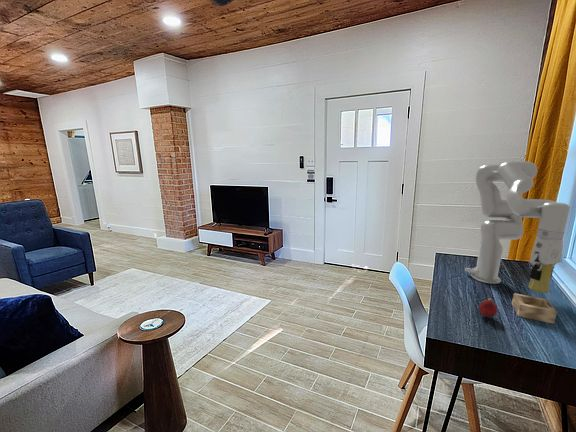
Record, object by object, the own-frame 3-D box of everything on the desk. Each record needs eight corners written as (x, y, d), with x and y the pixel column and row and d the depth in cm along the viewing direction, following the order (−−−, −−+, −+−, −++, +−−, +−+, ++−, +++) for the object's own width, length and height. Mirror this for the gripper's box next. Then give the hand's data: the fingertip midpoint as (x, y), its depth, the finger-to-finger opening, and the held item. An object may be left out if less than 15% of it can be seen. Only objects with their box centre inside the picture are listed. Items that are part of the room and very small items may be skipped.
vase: (534, 285, 114) (541, 252, 111) (552, 291, 109) (560, 257, 106) (524, 287, 112) (531, 254, 109) (542, 294, 107) (550, 259, 104)
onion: (496, 323, 106) (499, 304, 104) (478, 318, 109) (481, 299, 107) (494, 315, 111) (498, 297, 109) (477, 311, 114) (480, 293, 112)
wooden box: (518, 315, 111) (520, 303, 110) (511, 303, 121) (514, 292, 119) (554, 323, 106) (557, 311, 105) (544, 310, 116) (547, 298, 114)
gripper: (545, 238, 100) (536, 284, 104) (576, 235, 105) (566, 279, 109) (523, 233, 107) (514, 276, 111) (553, 230, 112) (544, 272, 116)
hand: (540, 277), depth 109 cm, fingers closed on vase, 5 cm apart
